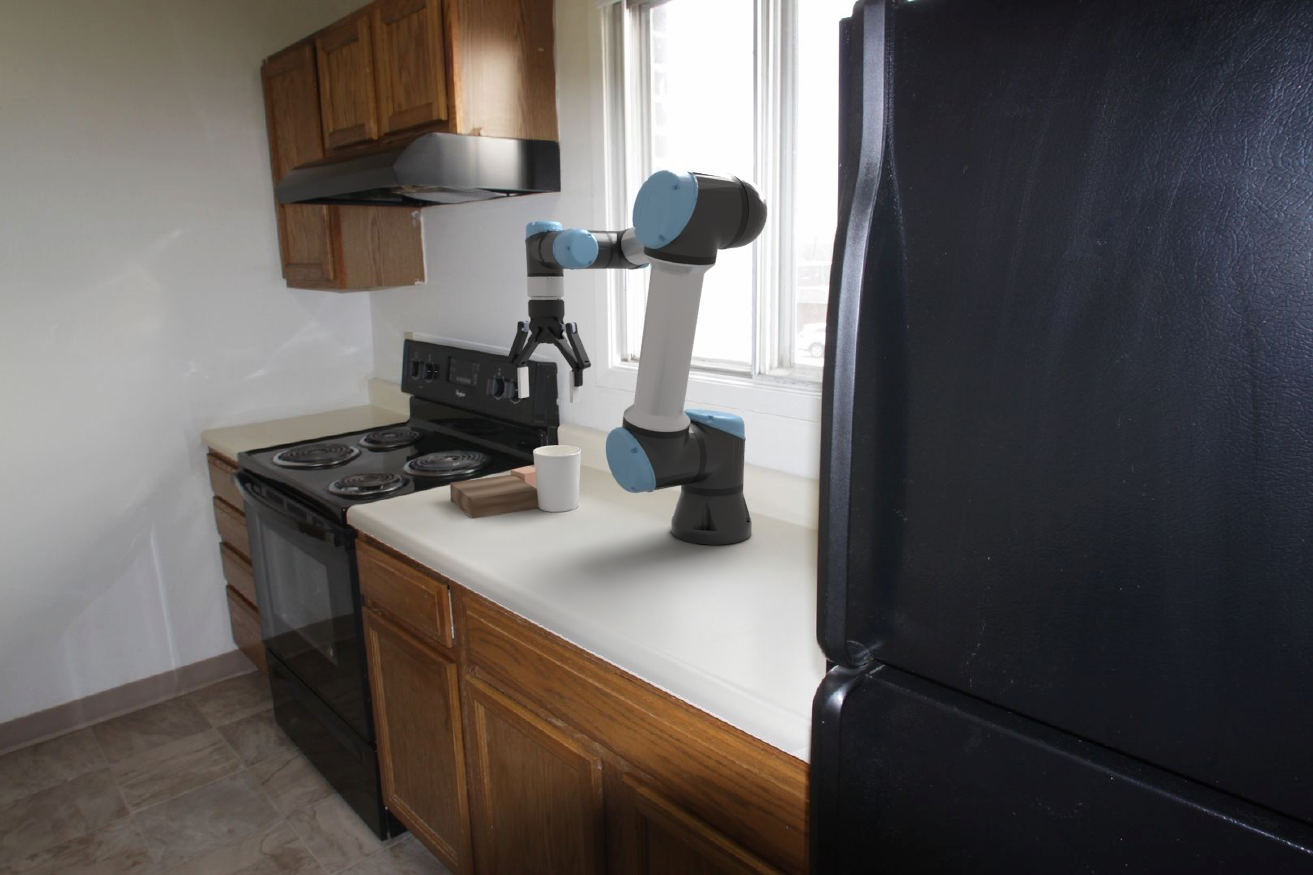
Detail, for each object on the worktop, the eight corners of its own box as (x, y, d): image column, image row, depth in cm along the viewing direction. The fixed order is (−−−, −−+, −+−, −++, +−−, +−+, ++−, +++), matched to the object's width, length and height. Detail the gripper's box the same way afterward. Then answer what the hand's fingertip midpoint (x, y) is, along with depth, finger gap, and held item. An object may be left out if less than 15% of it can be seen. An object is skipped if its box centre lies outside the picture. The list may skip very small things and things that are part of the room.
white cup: (573, 514, 165) (572, 456, 163) (527, 511, 167) (525, 454, 165) (587, 501, 175) (587, 446, 172) (544, 498, 177) (542, 444, 174)
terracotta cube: (543, 491, 182) (542, 469, 181) (525, 496, 179) (524, 473, 178) (529, 487, 186) (528, 465, 185) (511, 491, 182) (510, 469, 181)
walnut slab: (538, 507, 170) (537, 489, 169) (472, 518, 163) (471, 498, 162) (513, 491, 182) (512, 474, 181) (450, 500, 174) (450, 482, 174)
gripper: (606, 298, 167) (607, 401, 172) (510, 297, 180) (514, 393, 184) (585, 299, 161) (587, 406, 165) (487, 298, 173) (492, 397, 177)
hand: (549, 399), depth 174 cm, fingers open, 13 cm apart
